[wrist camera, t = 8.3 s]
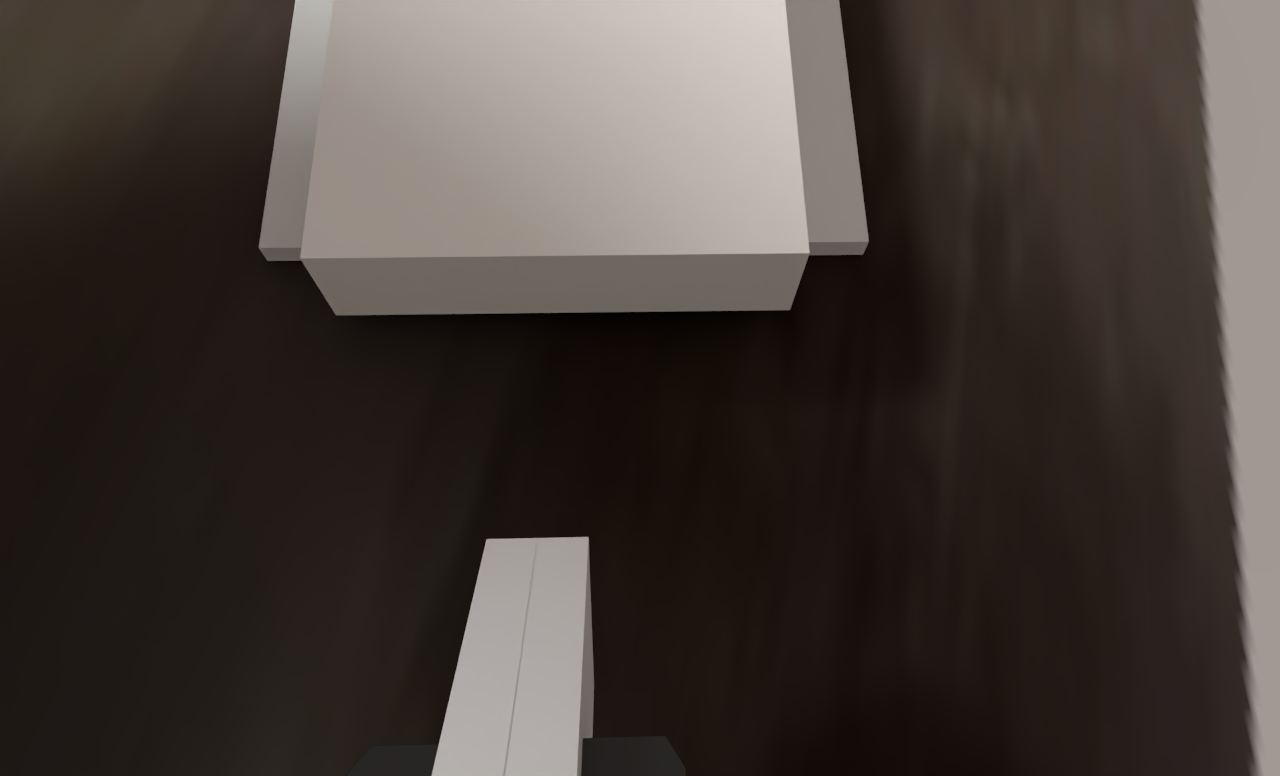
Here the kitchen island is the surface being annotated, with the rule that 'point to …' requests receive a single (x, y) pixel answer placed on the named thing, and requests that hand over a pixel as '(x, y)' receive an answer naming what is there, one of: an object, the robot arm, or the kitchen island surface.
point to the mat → (818, 112)
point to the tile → (556, 158)
